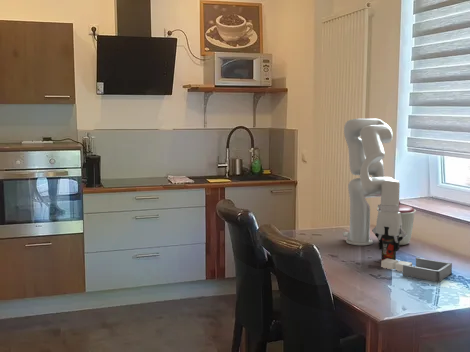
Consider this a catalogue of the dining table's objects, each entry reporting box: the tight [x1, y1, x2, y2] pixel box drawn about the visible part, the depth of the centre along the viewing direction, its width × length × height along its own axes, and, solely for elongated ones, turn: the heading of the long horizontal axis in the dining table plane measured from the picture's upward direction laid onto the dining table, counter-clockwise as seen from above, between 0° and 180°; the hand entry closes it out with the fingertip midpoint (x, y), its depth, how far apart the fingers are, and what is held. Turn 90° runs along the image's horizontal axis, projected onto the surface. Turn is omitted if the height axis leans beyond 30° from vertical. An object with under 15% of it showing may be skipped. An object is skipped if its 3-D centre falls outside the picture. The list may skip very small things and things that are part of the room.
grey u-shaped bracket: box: [402, 257, 453, 283], centre depth 212 cm, size 14×14×4 cm
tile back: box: [380, 258, 399, 271], centre depth 222 cm, size 5×5×3 cm
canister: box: [376, 200, 417, 246], centre depth 260 cm, size 18×18×21 cm
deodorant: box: [380, 227, 397, 261], centre depth 232 cm, size 6×6×15 cm
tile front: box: [395, 260, 413, 272], centre depth 218 cm, size 5×5×3 cm
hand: (388, 249), depth 232 cm, fingers closed on deodorant, 5 cm apart
